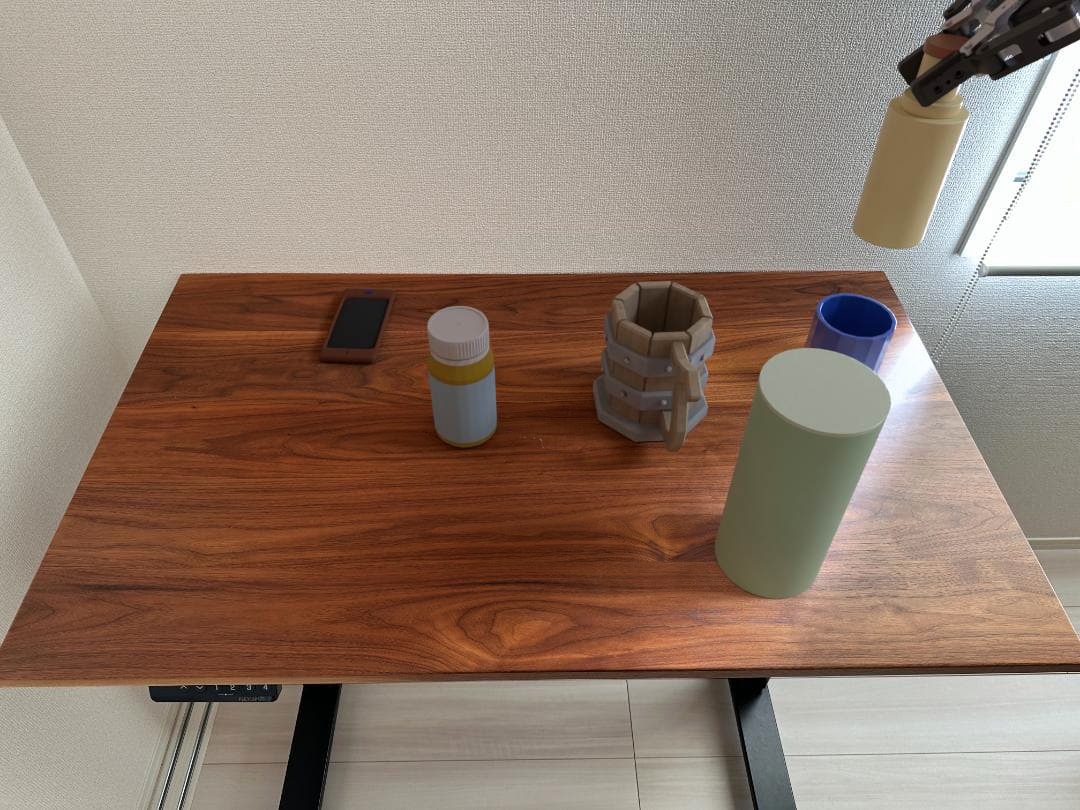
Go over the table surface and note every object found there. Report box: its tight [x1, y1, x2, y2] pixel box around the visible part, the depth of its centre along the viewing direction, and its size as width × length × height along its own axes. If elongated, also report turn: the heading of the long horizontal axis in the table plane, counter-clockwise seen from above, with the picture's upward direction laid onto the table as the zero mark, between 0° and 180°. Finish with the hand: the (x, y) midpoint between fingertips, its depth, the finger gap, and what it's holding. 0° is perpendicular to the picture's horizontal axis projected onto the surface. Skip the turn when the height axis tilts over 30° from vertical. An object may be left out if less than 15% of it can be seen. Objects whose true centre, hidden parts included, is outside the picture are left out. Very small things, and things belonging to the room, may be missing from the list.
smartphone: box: [318, 288, 397, 364], centre depth 101 cm, size 7×1×15 cm
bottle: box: [426, 305, 498, 449], centre depth 83 cm, size 7×7×15 cm
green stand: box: [714, 347, 892, 600], centre depth 68 cm, size 10×10×22 cm
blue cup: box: [803, 292, 898, 375], centre depth 93 cm, size 9×9×8 cm
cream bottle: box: [851, 33, 971, 250], centre depth 63 cm, size 6×6×16 cm
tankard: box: [592, 280, 716, 453], centre depth 83 cm, size 20×13×15 cm, turn 4°
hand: (910, 86), depth 60 cm, fingers closed on cream bottle, 3 cm apart
